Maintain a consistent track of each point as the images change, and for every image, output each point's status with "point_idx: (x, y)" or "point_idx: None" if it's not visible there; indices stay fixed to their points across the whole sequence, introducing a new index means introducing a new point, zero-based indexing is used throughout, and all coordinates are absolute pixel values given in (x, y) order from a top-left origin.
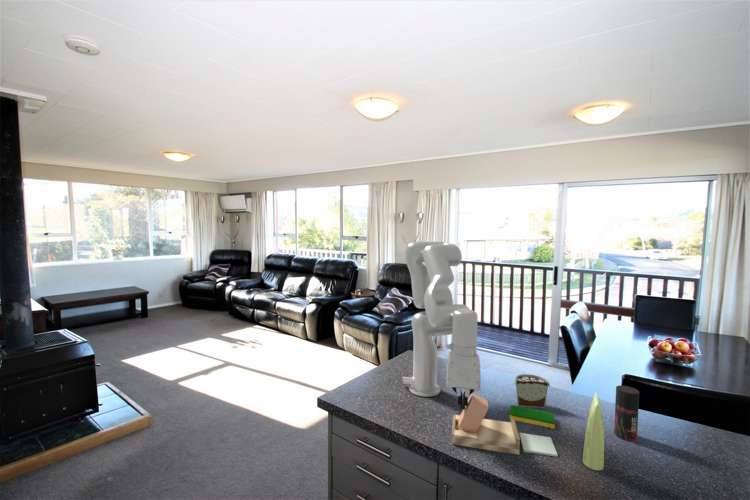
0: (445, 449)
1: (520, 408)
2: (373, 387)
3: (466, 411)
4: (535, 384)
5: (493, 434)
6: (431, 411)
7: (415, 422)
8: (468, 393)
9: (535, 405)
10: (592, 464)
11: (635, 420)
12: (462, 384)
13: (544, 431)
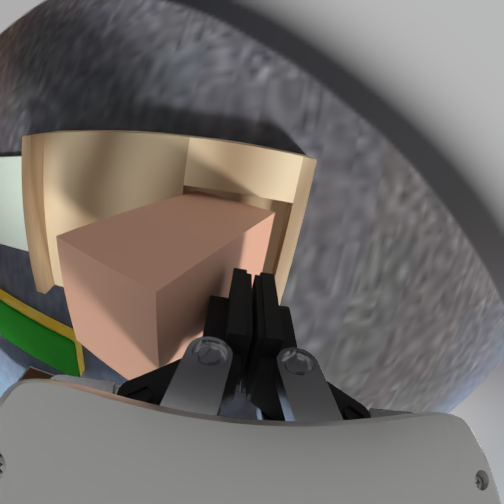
0: (338, 117)
1: (55, 362)
2: (429, 408)
3: (227, 242)
4: None
5: (108, 185)
6: (330, 359)
7: (404, 291)
8: (187, 368)
9: (41, 373)
10: None
11: None
12: (293, 480)
13: (9, 275)
